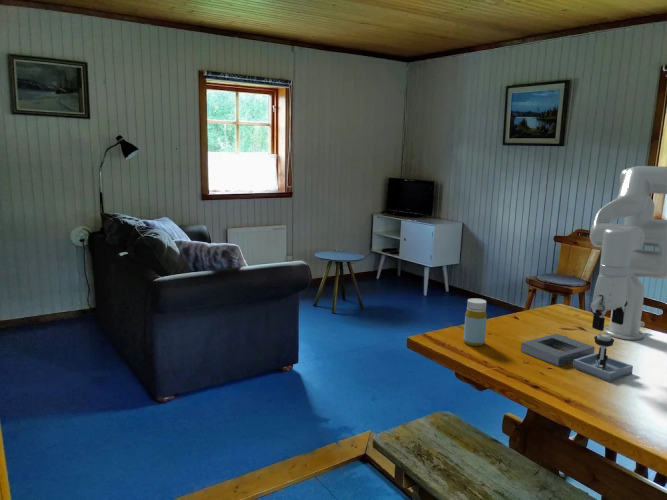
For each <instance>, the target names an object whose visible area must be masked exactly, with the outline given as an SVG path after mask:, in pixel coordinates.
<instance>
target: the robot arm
mask: <svg viewBox="0 0 667 500" xmlns="http://www.w3.org/2000/svg"><path fill="white" fill-rule="evenodd" d="M619 183H620V187H619V190H618V194H617V197H616V198H615V199H613V200H611V201H610V202H608V203H606V204H605V205H604V206H602V207H601V208H600V209H599V210H598V211H597V213H595V216H594V219H593V221H592V225H591V228H590V231H589V232H590V233H589V240H590V243H591V244H592V245H593V246H594V247H598V248H601V253H600V262H599V270H598V271H599V272H598V275H597V279H596V282H595V285H594V291H593V297H592V302H591V303H590V309H591V313H592V316H593V317H592V318H593V319H592V324H591V325H592V326H591V327H592V329H595V330H597V331H600V332H602V331H604V334H608V335H610V336H611V337H614V338H617V339H621V340H630V341H637V340H642V339H643V338H644V336H645V334H644V332H642V331H641V330H640V329H641V328H642V327H645V325H646V324H645V322H644V321H641V319H642V313H643V306H644V298H645V286H644V284H643V282H642V281H641V280H640V278H649V279H657V280H666V279H667V219H658V218H657V219H655V218H654V212H655V208H656V207H655V202H654V200H653V199H652V197H651V196H650V194H661V195H667V166H656V165H654V166H653V165H636V166H632V167H628V168H624V169H623V170H621V172H620V175H619ZM623 218H624V222H623V224H622V223H613V222H612V221H615V220H619V219H623ZM642 246H644V247H651V248H657V249H658V250H650V249H644V248H643V249H642V248H641V247H642ZM600 310H601V311H600ZM608 311H611V312H610V319H609V325H607V326H605V322H606V321H605V319H606V318H605V317H604V316H605V315H606V314H607V312H608Z"/></svg>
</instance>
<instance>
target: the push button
mask: <svg viewBox="0 0 667 500" xmlns="http://www.w3.org/2000/svg"><path fill="white" fill-rule="evenodd" d="M593 339H594V343H595V344H596V345H598V346H599V347H598V348H599V350H598V354H597V355H596V358H597V360H596V362H598V366H597V368H599V369H602V370H604V367H605V366H606V367H607V362H606V361H607V359H608V357H609V356H608V355H607V348H609V347H613V345H614V342H615V339H614V338H612V336H610V335H608V334H607V333H597V335H595V336H594V337H593ZM595 366H596V364H595Z"/></svg>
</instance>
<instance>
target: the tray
mask: <svg viewBox="0 0 667 500" xmlns="http://www.w3.org/2000/svg"><path fill="white" fill-rule="evenodd" d="M597 354H599V352H594V354H591V355H588V356H584V357H581V358H578V359H574V360H573V362H572V368H573V369H574V370H578V371H581V372H582V373H585V374H588V375H591V376H593V377H595V378H597V379H600V380H604V381H605V382H608V383H611V382H613V381H616V380H618V379H622V378H625V377H627V376H629V375H632V374H633V370H634V366H633V365H632V364H630V363H629V364H628V363H626V362H623V361H620V360H619V359H615V358H612V357H609V356H608V359H607V361H606V362H607V367H606V366H605V367H604V370H602V369H599V368H597V366H598V362H596V360H597V358H596V355H597ZM595 364H596V366H595Z"/></svg>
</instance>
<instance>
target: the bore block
mask: <svg viewBox="0 0 667 500" xmlns="http://www.w3.org/2000/svg"><path fill="white" fill-rule="evenodd" d="M520 352H522V353H524V354H526V355H529V356H531V357H533V358H537V359H539V360H542V361H544V362H546V363H549V364H552V365H554V366H556V367H560V366H564V365H567V364H570V363H573V360H574V359H578V358H581V357H584V356H588V355H591V354H594V353H595V346H594V345H591V344H588V343H584V342H582V341H579V340H576V339H574V338H571V337H567V336H564V335H562V334H558V333H554V334H551V335H547V336H542V337H539V338H538V337H537V338H534V339H531V340H527V341H526V340H525V341H522V342H521V347H520Z"/></svg>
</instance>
